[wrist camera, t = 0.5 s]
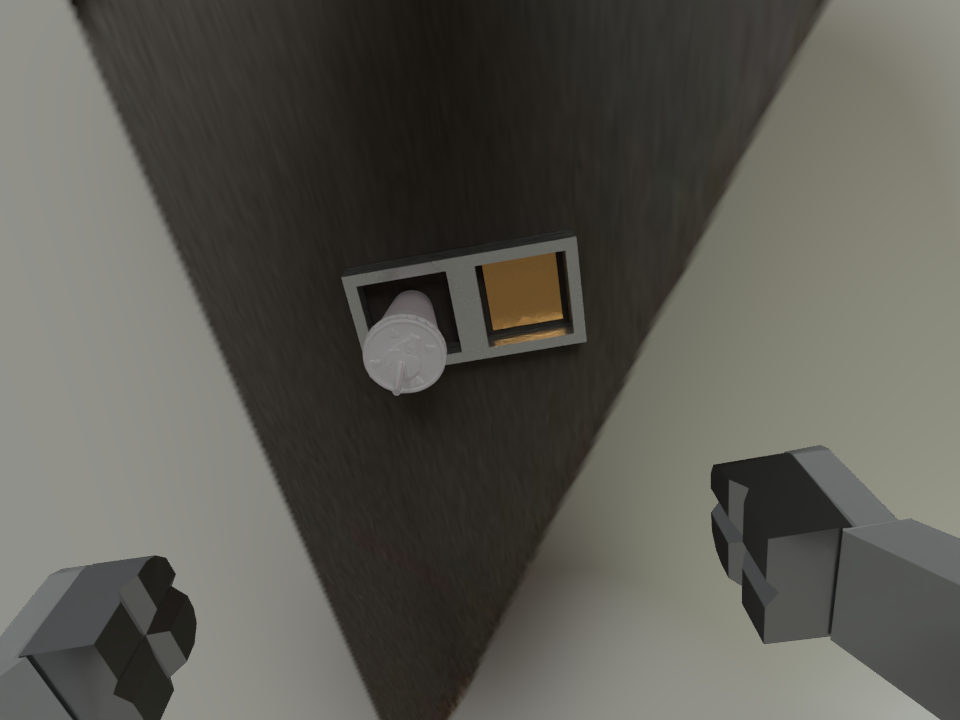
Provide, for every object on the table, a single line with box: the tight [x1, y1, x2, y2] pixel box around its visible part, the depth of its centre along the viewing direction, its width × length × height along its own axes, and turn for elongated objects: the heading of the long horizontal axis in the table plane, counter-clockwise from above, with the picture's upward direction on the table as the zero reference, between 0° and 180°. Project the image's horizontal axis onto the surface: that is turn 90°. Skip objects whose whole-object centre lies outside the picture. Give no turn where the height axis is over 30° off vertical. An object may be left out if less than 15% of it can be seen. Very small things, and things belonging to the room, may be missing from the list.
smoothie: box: [363, 290, 447, 396], centre depth 49 cm, size 6×6×14 cm
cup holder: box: [341, 229, 587, 378], centre depth 54 cm, size 10×20×2 cm, turn 100°
